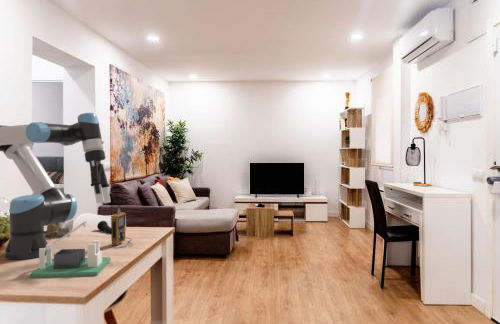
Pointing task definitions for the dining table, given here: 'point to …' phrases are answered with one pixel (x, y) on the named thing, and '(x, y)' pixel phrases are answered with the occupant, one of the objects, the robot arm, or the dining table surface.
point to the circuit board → (88, 268)
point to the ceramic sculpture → (58, 229)
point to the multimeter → (118, 227)
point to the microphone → (104, 226)
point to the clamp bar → (65, 236)
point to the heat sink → (69, 258)
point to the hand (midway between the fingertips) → (104, 202)
